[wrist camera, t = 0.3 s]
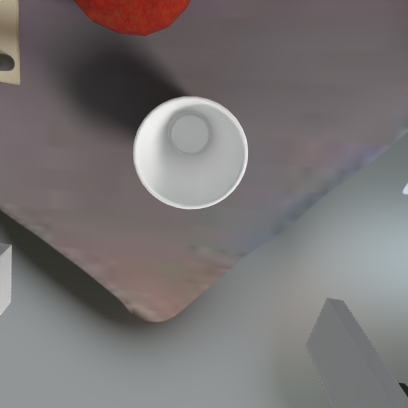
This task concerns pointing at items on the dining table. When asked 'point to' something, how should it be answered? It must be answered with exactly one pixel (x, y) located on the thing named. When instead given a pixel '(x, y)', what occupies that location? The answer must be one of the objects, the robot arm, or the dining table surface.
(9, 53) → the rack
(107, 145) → the dining table surface
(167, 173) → the cup
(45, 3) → the dining table surface
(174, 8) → the apple
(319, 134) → the dining table surface
